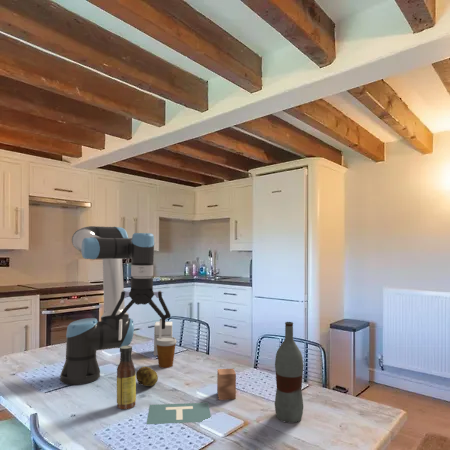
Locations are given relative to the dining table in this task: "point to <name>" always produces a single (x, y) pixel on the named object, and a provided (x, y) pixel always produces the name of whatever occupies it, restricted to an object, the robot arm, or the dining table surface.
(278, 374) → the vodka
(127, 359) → the sauce bottle
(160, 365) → the disposable coffee cup
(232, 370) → the wooden block
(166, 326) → the supplement box
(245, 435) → the dining table surface
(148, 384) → the potato
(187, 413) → the letter card
